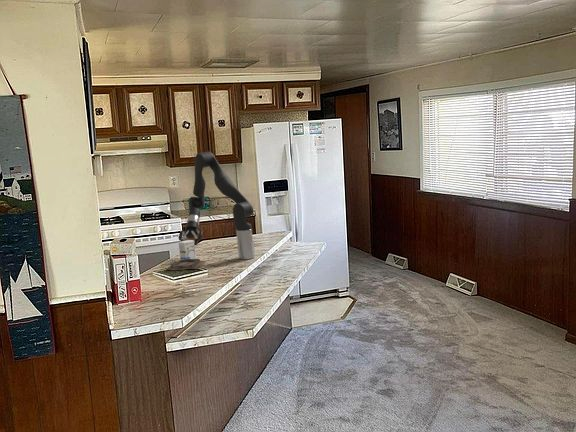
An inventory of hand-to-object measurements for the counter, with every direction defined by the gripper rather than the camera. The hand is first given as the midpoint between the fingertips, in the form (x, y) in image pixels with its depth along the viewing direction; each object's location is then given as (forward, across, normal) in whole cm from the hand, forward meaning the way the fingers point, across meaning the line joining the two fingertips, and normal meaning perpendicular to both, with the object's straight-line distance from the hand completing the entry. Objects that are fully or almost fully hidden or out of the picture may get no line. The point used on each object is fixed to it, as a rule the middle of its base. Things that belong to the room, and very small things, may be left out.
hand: (188, 245), depth 321 cm
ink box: (+8, 0, +4) cm, 9 cm away
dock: (+19, +4, -7) cm, 21 cm away
